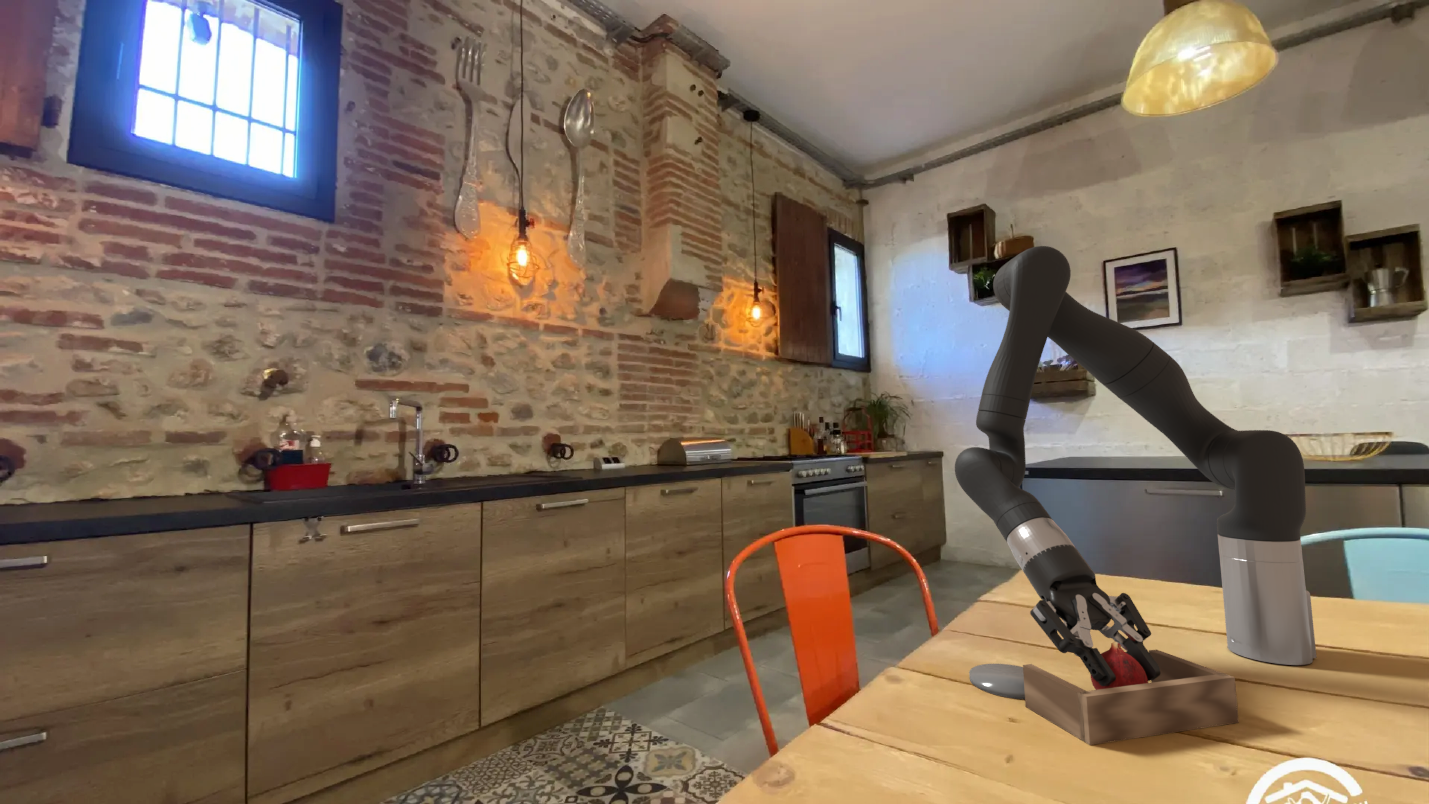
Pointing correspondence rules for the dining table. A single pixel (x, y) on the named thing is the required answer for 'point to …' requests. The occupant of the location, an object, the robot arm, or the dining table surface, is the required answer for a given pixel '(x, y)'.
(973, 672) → the stone
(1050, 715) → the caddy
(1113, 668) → the onion
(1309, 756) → the dining table surface
